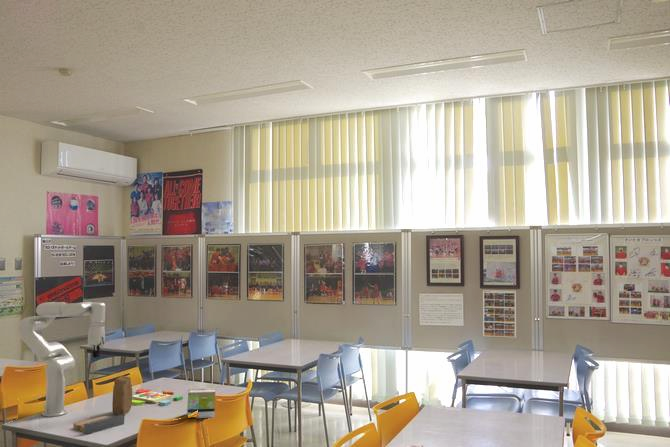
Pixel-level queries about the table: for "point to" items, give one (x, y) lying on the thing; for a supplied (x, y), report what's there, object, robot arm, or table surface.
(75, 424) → the walnut slab
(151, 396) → the pattern blocks set
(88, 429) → the block
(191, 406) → the tea box
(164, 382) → the table surface
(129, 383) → the block
